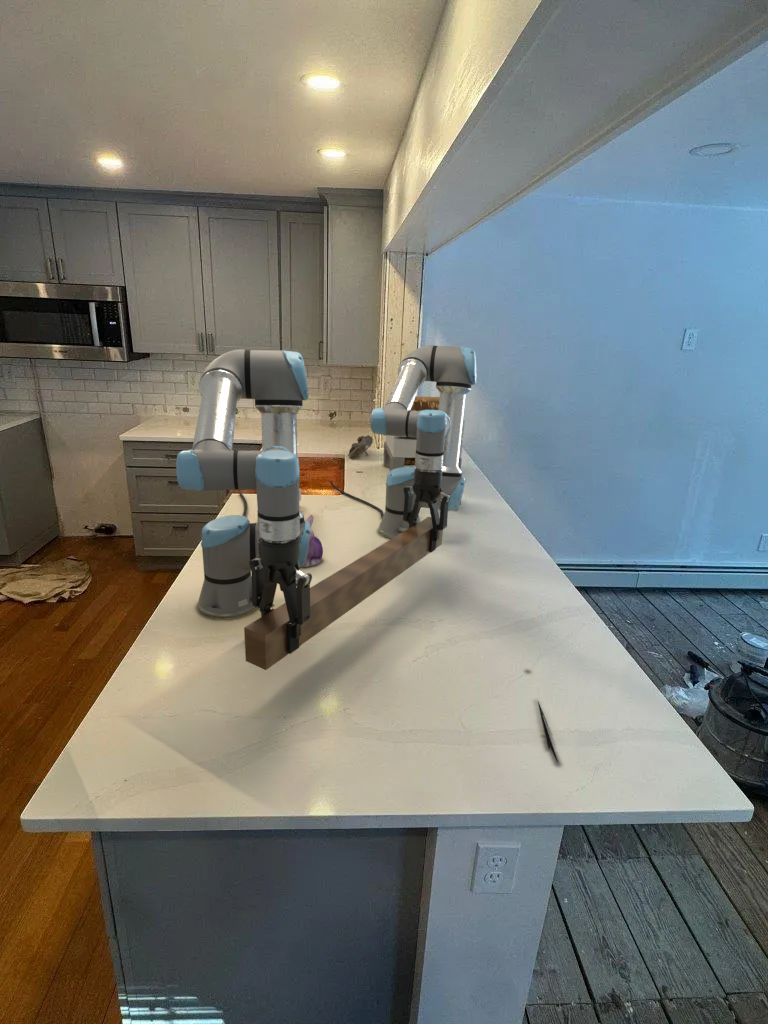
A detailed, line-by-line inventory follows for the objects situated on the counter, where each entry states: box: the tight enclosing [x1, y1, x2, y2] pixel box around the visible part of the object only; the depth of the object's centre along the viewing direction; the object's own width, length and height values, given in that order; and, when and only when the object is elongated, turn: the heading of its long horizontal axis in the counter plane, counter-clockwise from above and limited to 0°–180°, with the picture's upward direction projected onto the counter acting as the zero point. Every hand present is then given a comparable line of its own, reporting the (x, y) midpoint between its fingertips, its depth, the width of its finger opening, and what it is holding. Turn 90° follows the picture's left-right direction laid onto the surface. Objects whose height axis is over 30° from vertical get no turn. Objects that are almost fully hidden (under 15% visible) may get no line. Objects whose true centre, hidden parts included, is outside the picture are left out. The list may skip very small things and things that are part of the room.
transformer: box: [383, 395, 465, 472], centre depth 268 cm, size 34×33×41 cm
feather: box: [527, 669, 559, 763], centre depth 113 cm, size 2×28×2 cm
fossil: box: [348, 435, 374, 460], centre depth 302 cm, size 22×10×15 cm
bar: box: [243, 516, 444, 671], centre depth 135 cm, size 74×5×7 cm, turn 149°
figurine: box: [301, 513, 324, 568], centre depth 172 cm, size 9×10×15 cm
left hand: (281, 645), depth 112 cm, fingers closed on bar, 5 cm apart
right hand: (422, 548), depth 160 cm, fingers closed on bar, 5 cm apart
